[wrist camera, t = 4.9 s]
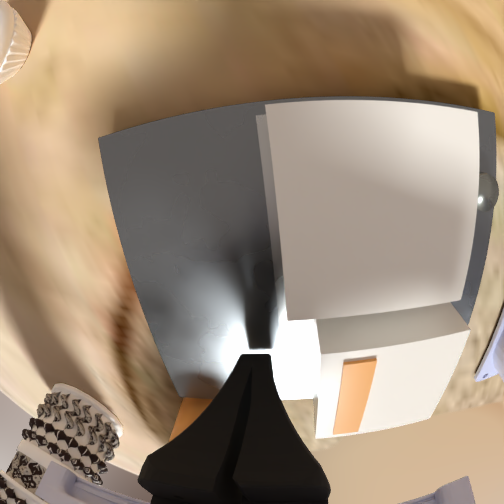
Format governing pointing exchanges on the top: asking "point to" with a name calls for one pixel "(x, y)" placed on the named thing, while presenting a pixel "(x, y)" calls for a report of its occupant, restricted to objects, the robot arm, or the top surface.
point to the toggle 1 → (373, 204)
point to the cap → (188, 414)
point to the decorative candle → (61, 443)
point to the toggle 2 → (383, 367)
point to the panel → (230, 241)
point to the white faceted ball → (12, 41)
